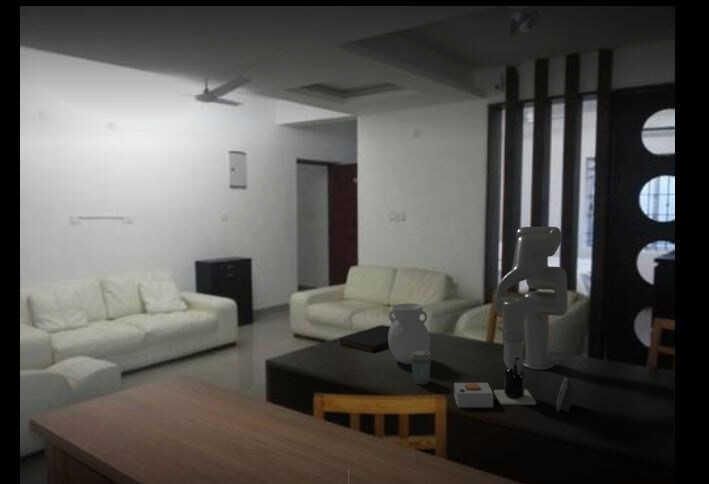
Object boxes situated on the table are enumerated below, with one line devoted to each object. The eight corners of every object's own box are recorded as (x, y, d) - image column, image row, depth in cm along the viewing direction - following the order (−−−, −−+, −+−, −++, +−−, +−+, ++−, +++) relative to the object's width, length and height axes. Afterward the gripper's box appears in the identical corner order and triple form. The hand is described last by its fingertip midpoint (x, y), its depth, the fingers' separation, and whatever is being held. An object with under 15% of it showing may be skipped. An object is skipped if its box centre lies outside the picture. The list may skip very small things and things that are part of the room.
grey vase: (382, 366, 222) (381, 309, 220) (395, 353, 239) (394, 301, 237) (424, 369, 215) (423, 311, 213) (434, 357, 232) (433, 303, 230)
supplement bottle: (525, 398, 177) (525, 365, 176) (505, 397, 179) (504, 364, 178) (523, 391, 184) (522, 358, 183) (503, 390, 185) (503, 358, 184)
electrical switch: (556, 401, 177) (559, 375, 176) (572, 404, 175) (575, 378, 174) (556, 412, 169) (559, 385, 168) (573, 415, 167) (575, 388, 166)
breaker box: (487, 396, 184) (487, 381, 184) (493, 407, 174) (492, 391, 174) (454, 396, 185) (454, 381, 184) (457, 407, 175) (457, 392, 175)
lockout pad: (527, 391, 187) (527, 389, 187) (536, 404, 175) (536, 402, 175) (494, 391, 188) (493, 389, 188) (500, 404, 176) (500, 402, 176)
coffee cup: (418, 387, 195) (418, 356, 194) (406, 380, 202) (405, 351, 202) (436, 383, 199) (436, 353, 198) (424, 376, 206) (423, 348, 205)
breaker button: (477, 395, 181) (477, 383, 181) (479, 399, 177) (479, 387, 177) (466, 395, 181) (466, 383, 181) (468, 399, 178) (467, 387, 177)
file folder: (381, 324, 282) (416, 332, 265) (381, 332, 282) (416, 339, 265) (338, 337, 258) (373, 346, 241) (338, 345, 259) (373, 354, 242)
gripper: (497, 329, 189) (498, 375, 190) (508, 342, 171) (509, 393, 173) (518, 328, 188) (519, 375, 189) (531, 341, 171) (531, 393, 172)
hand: (514, 383), depth 181 cm, fingers open, 7 cm apart
